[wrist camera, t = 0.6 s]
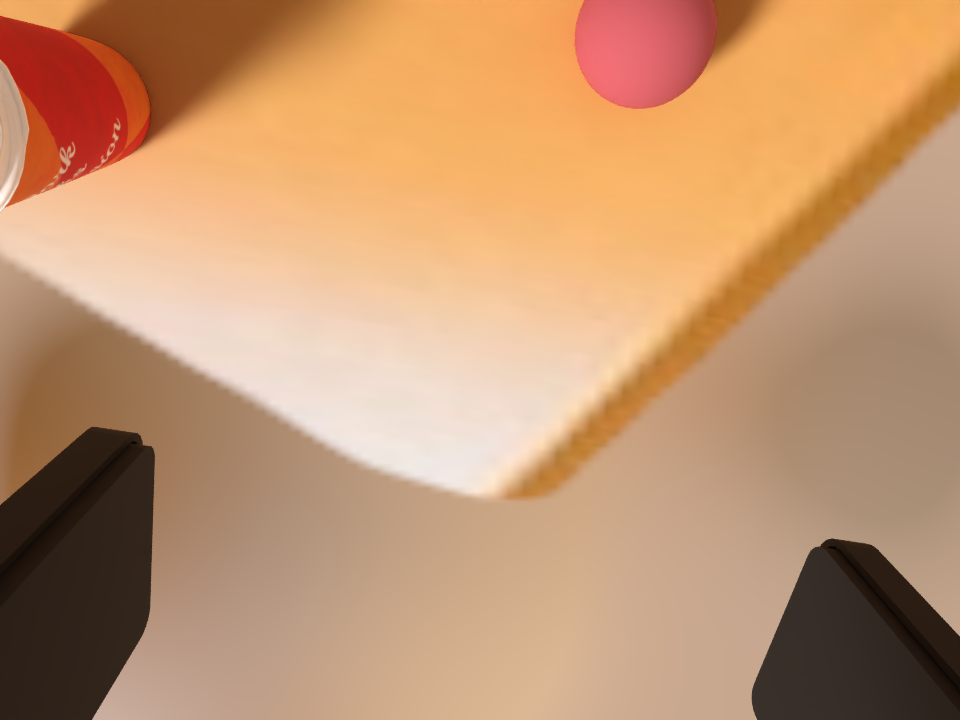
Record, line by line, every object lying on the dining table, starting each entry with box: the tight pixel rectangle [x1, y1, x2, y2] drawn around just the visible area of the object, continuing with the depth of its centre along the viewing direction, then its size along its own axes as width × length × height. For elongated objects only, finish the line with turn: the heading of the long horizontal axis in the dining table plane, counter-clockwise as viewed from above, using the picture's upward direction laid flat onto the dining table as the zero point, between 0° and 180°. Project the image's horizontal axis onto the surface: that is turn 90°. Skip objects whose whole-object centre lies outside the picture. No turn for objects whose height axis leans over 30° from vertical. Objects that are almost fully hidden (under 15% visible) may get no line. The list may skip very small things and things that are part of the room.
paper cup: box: [0, 16, 151, 212], centre depth 26 cm, size 8×8×14 cm
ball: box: [575, 0, 717, 109], centre depth 30 cm, size 6×6×6 cm
